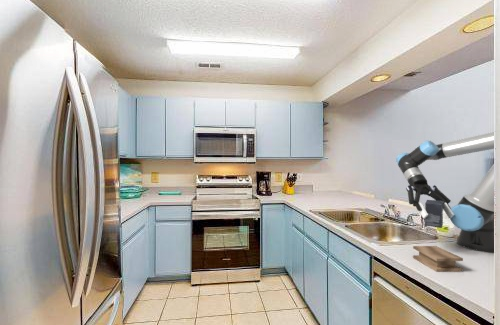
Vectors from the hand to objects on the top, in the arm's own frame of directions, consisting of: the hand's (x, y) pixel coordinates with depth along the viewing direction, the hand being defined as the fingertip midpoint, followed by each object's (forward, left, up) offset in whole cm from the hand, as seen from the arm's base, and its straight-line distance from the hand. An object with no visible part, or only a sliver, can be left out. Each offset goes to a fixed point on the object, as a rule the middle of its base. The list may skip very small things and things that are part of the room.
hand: (438, 216), depth 111 cm
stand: (+9, +11, -16) cm, 22 cm away
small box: (0, -3, -4) cm, 5 cm away
